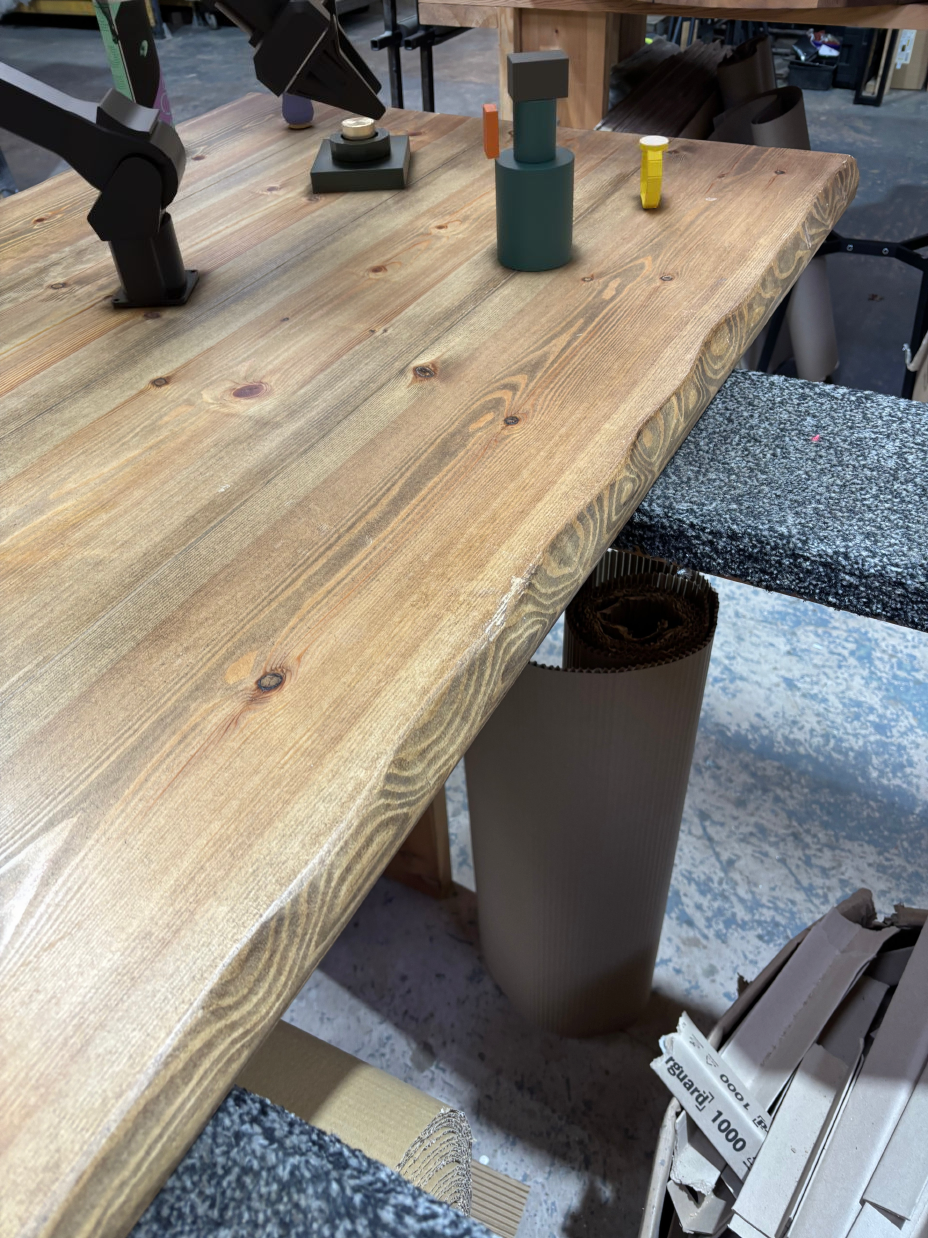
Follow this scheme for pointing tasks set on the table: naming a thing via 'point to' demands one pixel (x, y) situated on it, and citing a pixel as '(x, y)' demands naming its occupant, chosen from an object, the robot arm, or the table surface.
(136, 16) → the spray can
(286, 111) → the purple vase
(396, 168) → the switch block
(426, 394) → the table surface
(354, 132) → the button
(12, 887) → the table surface
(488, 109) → the block
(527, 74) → the spray bottle
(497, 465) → the table surface
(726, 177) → the table surface
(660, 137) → the watch
